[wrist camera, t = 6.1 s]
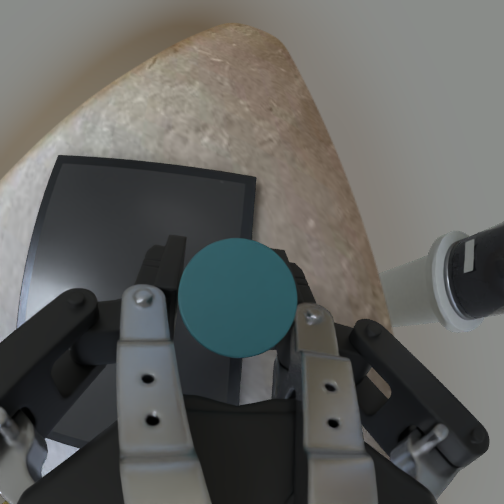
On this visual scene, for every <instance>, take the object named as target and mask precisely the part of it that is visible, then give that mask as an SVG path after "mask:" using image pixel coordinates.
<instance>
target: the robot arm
mask: <svg viewBox="0 0 504 504" xmlns="http://www.w3.org/2000/svg"><path fill="white" fill-rule="evenodd" d="M186 240H187V237H185V236H177V235H170V234H169V236H168V240H167V243H166V246H162V245H154V246H152V247H151V248H150V249H148V250H147V252H146V255H145V257H144V260H143V262H142V265H141V268H140V270H139V273H138V275H137V278H136V281H135V283H134V286H131V287H129V288H127V289H126V290H125V291H124V293H123V295H122V298H120V299H117V300H110V301H97V297H96V295H95V294H94V293H93V292H92V291H90V290H88V289H85V288H73V289H69V290H66V291H64V292H63V293H61V294H60V295H59V296H57V297H56V298H55V299H54V300H52V301H51V302H50V303H48V304H47V305H46V306H45V307H43V308H42V309H41V310H40V311H38V312H37V313H36V314H35V315H33V316H32V317H31V318H30V319H28V320H27V321H26V322H25V323H23V324H22V325H21V326H20V327H19V328H17V329H16V330H15V331H14V332H13V333H11V334H10V335H9V336H8V337H7V338H6V339H4V340H3V341H2V342H1V343H0V495H1V496H2V497H3V498H4V499H5V500H6V501H7V502H8V503H9V504H437V501H436V499H437V498H438V497H439V496H440V495H441V493H442V492H443V491H444V490H445V489H446V487H447V486H448V485H449V484H450V482H451V481H452V480H453V478H454V477H455V476H456V474H457V473H458V472H459V471H460V470H462V469H463V468H465V467H466V466H467V465H469V464H470V463H471V462H473V461H474V460H476V459H477V458H478V457H480V456H481V455H483V454H484V453H485V452H486V451H487V450H488V447H489V436H488V433H487V431H486V429H485V428H484V427H483V425H482V424H481V423H480V422H479V421H478V420H477V419H476V418H475V417H474V416H473V415H472V414H471V413H470V412H469V411H468V410H467V409H466V408H465V407H464V406H463V405H462V404H461V402H459V401H458V399H457V398H456V397H454V395H453V394H452V393H451V392H450V391H449V390H448V389H447V388H446V387H445V386H444V385H443V384H442V383H441V382H440V381H439V380H438V379H437V378H436V377H435V376H434V375H433V374H432V373H431V372H430V371H429V370H428V369H427V368H426V367H425V366H424V365H423V364H422V363H421V362H420V361H419V360H418V359H416V358H415V357H414V356H413V355H412V354H411V353H410V352H409V351H408V350H407V349H406V348H405V347H404V346H403V345H402V344H401V343H400V342H399V341H398V340H397V339H396V338H395V337H394V336H393V335H392V334H391V333H390V332H389V331H387V330H386V329H385V328H384V327H383V326H382V325H381V324H379V323H377V322H376V321H373V320H370V319H361V320H358V321H357V322H356V324H355V326H354V328H351V327H348V326H344V325H340V324H337V323H335V322H334V320H333V317H332V315H331V313H330V312H329V311H328V310H327V309H325V308H324V307H322V306H320V305H318V304H316V302H315V299H314V297H313V294H312V292H311V290H310V287H309V286H308V283H307V280H306V279H305V276H304V273H303V271H302V270H301V269H300V268H299V267H298V266H297V265H296V264H295V263H291V262H289V261H288V258H287V256H286V253H285V251H284V250H280V249H272V248H270V249H272V250H273V251H274V252H275V253H277V254H278V255H279V256H280V257H281V258H282V259H283V261H284V262H285V263H286V265H287V266H288V268H289V269H290V271H291V273H292V275H293V278H294V281H295V284H296V289H297V310H296V314H295V318H294V321H293V323H292V325H291V327H290V329H289V331H288V332H287V334H286V335H285V336H284V338H283V339H282V340H281V341H280V342H279V343H278V344H276V345H275V346H274V347H273V348H271V349H269V350H277V356H276V359H275V361H274V370H273V385H272V399H270V400H266V401H261V402H257V403H252V404H247V405H241V406H236V405H232V404H228V403H224V402H220V401H217V400H213V399H210V398H206V397H203V396H199V395H188V394H182V389H181V383H180V378H179V372H178V366H177V360H176V354H175V348H174V342H173V340H174V332H175V325H176V318H177V311H178V289H179V283H180V280H181V277H182V274H183V268H184V258H185V249H186ZM443 275H444V285H445V290H446V294H447V297H448V300H449V302H450V304H451V306H452V308H453V310H454V311H455V313H456V314H457V315H458V316H459V317H460V318H462V319H464V320H475V319H477V318H482V317H488V316H495V315H500V314H504V222H502V223H500V224H497V225H495V226H493V227H491V228H489V229H486V230H484V231H482V232H479V233H477V234H475V235H472V236H470V237H467V238H465V239H461V240H458V241H456V242H454V243H452V244H451V245H450V247H449V248H448V250H447V252H446V255H445V260H444V268H443ZM107 364H116V389H117V418H118V419H117V420H116V421H115V422H113V423H112V424H111V425H110V426H108V427H107V428H106V429H105V430H103V431H102V432H101V433H100V434H98V435H97V436H96V437H95V438H93V439H92V440H91V441H90V442H88V443H87V444H86V445H85V446H83V447H82V448H81V449H79V450H78V451H77V452H76V453H74V454H73V455H72V456H70V457H69V458H68V459H66V460H65V461H64V462H62V463H61V464H60V465H59V466H57V467H56V468H55V469H53V470H52V471H51V472H49V473H48V474H46V475H45V476H44V477H42V476H41V471H42V466H43V464H44V462H45V460H46V458H47V453H48V450H47V444H46V441H45V438H46V437H47V435H48V434H49V433H50V432H51V430H52V429H53V428H54V427H55V426H56V424H57V423H58V422H59V421H60V420H61V418H62V417H63V416H64V415H65V414H66V412H67V411H68V410H69V409H70V408H71V407H72V405H73V404H74V403H75V402H76V401H77V399H78V398H79V397H80V396H81V395H82V394H83V392H84V391H85V390H86V389H87V388H88V387H89V386H90V384H91V383H92V382H93V381H94V380H95V379H96V377H97V376H98V375H99V374H100V373H101V372H102V371H103V369H104V368H105V367H106V365H107ZM371 367H373V368H374V369H375V371H376V372H377V373H378V374H379V375H380V376H381V377H382V378H383V379H384V380H385V381H386V382H387V383H388V384H389V386H390V388H391V396H390V398H389V399H388V398H387V397H386V396H385V395H384V394H383V393H382V392H381V391H380V390H379V389H378V388H377V387H376V385H375V384H374V383H373V382H372V381H371V380H370V379H369V378H368V377H367V376H366V375H367V373H368V372H369V370H370V369H371ZM361 424H362V425H363V427H364V428H365V429H366V430H367V431H368V433H369V434H370V435H371V436H372V437H373V438H374V440H375V441H376V442H377V443H378V444H379V445H380V447H381V448H382V449H383V450H384V451H385V452H386V454H387V455H388V456H389V457H390V461H389V460H388V459H387V458H385V457H384V456H383V455H381V454H380V453H379V452H377V451H376V450H375V449H374V448H372V447H371V446H370V445H368V444H367V443H366V442H365V441H364V439H363V432H362V425H361Z"/></svg>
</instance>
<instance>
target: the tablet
mask: <svg viewBox="0 0 504 504" xmlns="http://www.w3.org/2000/svg"><path fill="white" fill-rule="evenodd" d="M255 190H256V177H253V176H247V175H241V174H235V173H229V172H223V171H216V170H209V169H202V168H195V167H188V166H180V165H172V164H164V163H155V162H146V161H136V160H125V159H113V158H100V157H85V156H67V155H58V157H57V160H56V163H55V165H54V168H53V170H52V173H51V176H50V179H49V181H48V184H47V187H46V190H45V193H44V196H43V199H42V202H41V206H40V209H39V212H38V216H37V219H36V223H35V226H34V230H33V234H32V238H31V242H30V246H29V251H28V255H27V260H26V265H25V270H24V276H23V281H22V287H21V294H20V301H19V309H18V318H17V328H19V327H20V326H21V325H22V324H23V323H25V322H26V321H27V320H28V319H30V318H31V317H32V316H33V315H35V314H36V313H37V312H38V311H40V310H41V309H42V308H43V307H45V306H46V305H47V304H48V303H50V302H51V301H52V300H54V299H55V298H56V297H57V296H59V295H60V294H61V293H63V292H64V291H66V290H69V289H73V288H85V289H88V290H90V291H92V292H93V293H94V294H95V295H96V297H97V301H110V300H117V299H120V298H122V295H123V293H124V291H125V290H126V289H127V288H129V287H131V286H134V283H135V281H136V278H137V275H138V273H139V270H140V268H141V265H142V262H143V260H144V257H145V255H146V252H147V250H148V249H150V248H151V247H152V246H154V245H162V246H166V243H167V240H168V236H169V234H170V235H177V236H185V237H187V240H186V249H185V258H184V268H183V272H184V270H185V268H186V266H187V265H188V263H189V262H190V260H191V259H192V258H193V257H194V256H195V255H196V254H197V253H198V252H199V251H200V250H202V249H203V248H205V247H206V246H208V245H210V244H212V243H214V242H217V241H220V240H224V239H229V238H243V239H249V240H252V227H253V215H254V202H255ZM17 328H16V329H17ZM173 342H174V348H175V354H176V360H177V366H178V372H179V378H180V383H181V389H182V394H188V395H199V396H203V397H206V398H210V399H213V400H217V401H220V402H224V403H228V404H232V405H236V406H239V394H240V381H241V368H242V358H232V357H226V356H222V355H219V354H216V353H214V352H212V351H210V350H208V349H207V348H205V347H204V346H202V345H201V344H200V343H199V342H197V341H196V340H195V339H194V337H193V336H192V335H191V334H190V333H189V331H188V330H187V328H186V326H185V325H184V322H183V320H182V317H181V314H180V310H179V305H178V311H177V318H176V325H175V332H174V340H173ZM117 419H118V418H117V389H116V364H107V365H106V367H105V368H104V369H103V371H102V372H101V373H100V374H99V375H98V376H97V377H96V379H95V380H94V381H93V382H92V383H91V384H90V386H89V387H88V388H87V389H86V390H85V391H84V392H83V394H82V395H81V396H80V397H79V398H78V399H77V401H76V402H75V403H74V404H73V405H72V407H71V408H70V409H69V410H68V411H67V412H66V414H65V415H64V416H63V417H62V418H61V420H60V421H59V422H58V423H57V424H56V426H55V427H54V428H53V429H52V430H51V432H50V433H49V434H48V435H47V437H46V438H48V439H51V440H54V441H57V442H60V443H63V444H67V445H70V446H73V447H77V448H80V449H81V448H82V447H83V446H85V445H86V444H87V443H88V442H90V441H91V440H92V439H93V438H95V437H96V436H97V435H98V434H100V433H101V432H102V431H103V430H105V429H106V428H107V427H108V426H110V425H111V424H112V423H113V422H115V421H116V420H117Z"/></svg>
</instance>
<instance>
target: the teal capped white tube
mask: <svg viewBox="0 0 504 504" xmlns="http://www.w3.org/2000/svg"><path fill="white" fill-rule="evenodd" d="M178 305H179V310H180V314H181V317H182V320H183V322H184V325H185V326H186V328H187V330H188V331H189V333H190V334H191V335H192V336H193V337H194V339H195V340H196V341H197V342H199V343H200V344H201V345H202V346H204V347H205V348H207V349H208V350H210V351H212V352H214V353H216V354H219V355H222V356H226V357H232V358H246V357H252V356H256V355H259V354H261V353H264V352H266V351H268V350H269V349H271V348H273V347H274V346H275V345H276V344H278V343H279V342H280V341H281V340H282V339H283V338H284V336H285V335H286V334H287V332H288V331H289V329H290V327H291V325H292V323H293V321H294V318H295V314H296V310H297V289H296V284H295V281H294V278H293V275H292V273H291V271H290V269H289V268H288V266H287V265H286V263H285V262H284V261H283V259H282V258H281V257H280V256H279V255H278V254H277V253H275V252H274V251H273V250H272V249H270V248H269V247H267V246H265V245H263V244H261V243H259V242H256V241H253V240H249V239H243V238H229V239H224V240H220V241H217V242H214V243H212V244H210V245H208V246H206V247H205V248H203V249H202V250H200V251H199V252H198V253H197V254H196V255H195V256H194V257H193V258H192V259H191V260H190V262H189V263H188V265H187V266H186V268H185V270H184V272H183V274H182V277H181V280H180V283H179V289H178Z"/></svg>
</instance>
